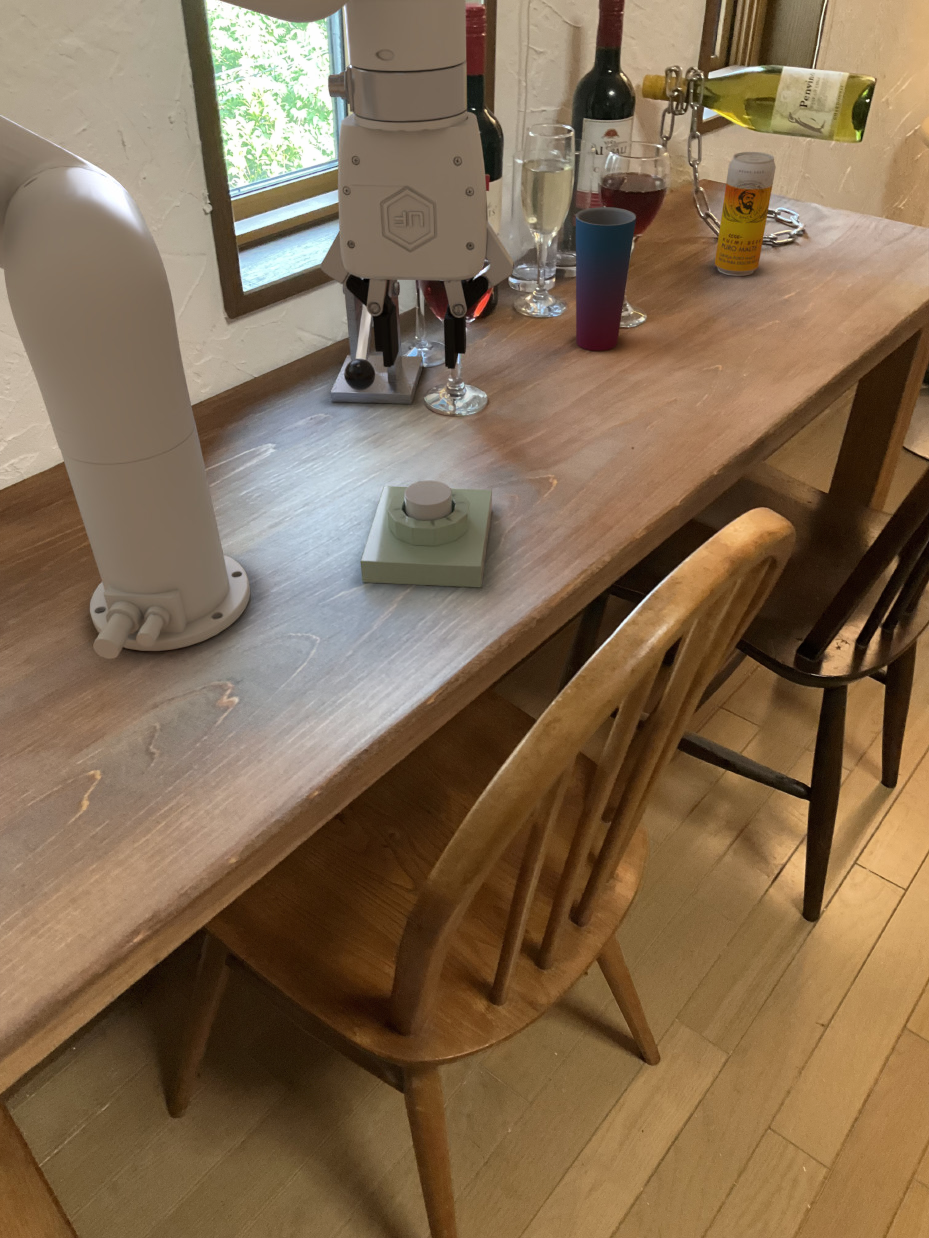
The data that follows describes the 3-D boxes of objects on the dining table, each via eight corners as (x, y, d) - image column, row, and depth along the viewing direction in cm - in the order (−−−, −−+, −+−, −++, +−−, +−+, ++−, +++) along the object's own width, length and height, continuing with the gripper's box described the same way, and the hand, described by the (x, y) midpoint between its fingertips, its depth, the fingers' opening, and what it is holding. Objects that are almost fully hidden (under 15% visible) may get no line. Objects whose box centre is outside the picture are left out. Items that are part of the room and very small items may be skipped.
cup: (627, 354, 115) (639, 224, 106) (570, 354, 116) (577, 225, 106) (621, 331, 121) (632, 206, 111) (567, 332, 121) (573, 207, 111)
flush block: (481, 588, 80) (480, 548, 77) (362, 582, 80) (358, 543, 78) (492, 510, 89) (492, 472, 86) (385, 506, 90) (382, 468, 87)
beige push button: (449, 523, 81) (448, 505, 80) (402, 521, 81) (401, 504, 80) (454, 498, 84) (453, 481, 83) (409, 496, 84) (407, 479, 83)
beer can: (714, 276, 135) (731, 162, 126) (713, 262, 140) (729, 150, 131) (758, 278, 135) (779, 163, 125) (755, 263, 139) (775, 151, 130)
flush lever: (375, 396, 100) (370, 378, 97) (345, 396, 101) (339, 378, 98) (389, 287, 105) (385, 267, 102) (360, 287, 105) (355, 267, 102)
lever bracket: (411, 404, 106) (405, 289, 98) (331, 401, 107) (318, 287, 99) (423, 366, 114) (418, 256, 106) (348, 364, 114) (337, 255, 106)
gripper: (268, 106, 60) (303, 379, 72) (536, 107, 59) (528, 385, 70) (296, 83, 66) (325, 339, 77) (540, 83, 65) (532, 343, 76)
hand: (421, 358), depth 74 cm, fingers open, 4 cm apart
